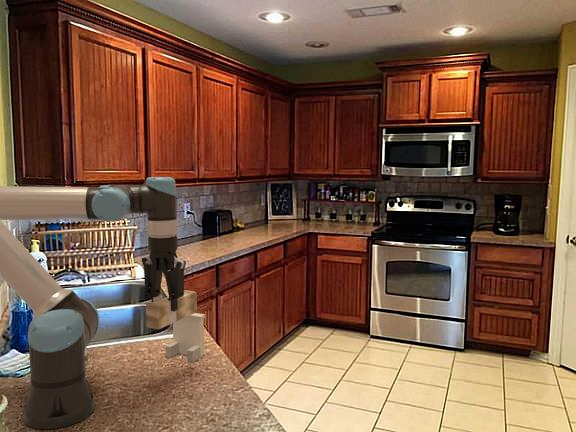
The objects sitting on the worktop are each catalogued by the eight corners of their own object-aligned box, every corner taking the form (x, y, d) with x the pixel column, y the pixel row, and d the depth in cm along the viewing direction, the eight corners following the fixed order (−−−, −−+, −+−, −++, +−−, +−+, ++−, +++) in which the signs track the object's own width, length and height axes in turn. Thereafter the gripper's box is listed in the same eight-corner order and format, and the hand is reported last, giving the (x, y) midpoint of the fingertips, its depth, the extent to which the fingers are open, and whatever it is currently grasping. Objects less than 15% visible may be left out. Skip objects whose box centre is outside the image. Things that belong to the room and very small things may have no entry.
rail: (158, 329, 124) (157, 307, 124) (146, 327, 126) (145, 304, 125) (197, 312, 138) (196, 291, 138) (186, 310, 140) (185, 290, 140)
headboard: (194, 362, 143) (193, 320, 141) (164, 356, 147) (163, 315, 146) (205, 355, 149) (205, 314, 147) (176, 349, 153) (175, 309, 151)
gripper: (197, 235, 126) (199, 321, 129) (148, 231, 134) (151, 312, 137) (178, 239, 120) (180, 330, 122) (128, 235, 127) (131, 320, 130)
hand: (165, 321), depth 129 cm, fingers closed on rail, 4 cm apart
